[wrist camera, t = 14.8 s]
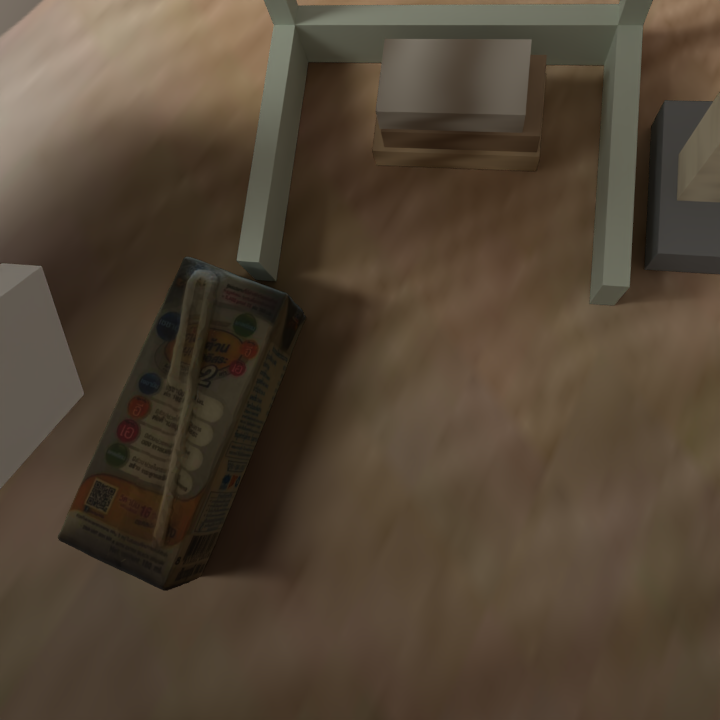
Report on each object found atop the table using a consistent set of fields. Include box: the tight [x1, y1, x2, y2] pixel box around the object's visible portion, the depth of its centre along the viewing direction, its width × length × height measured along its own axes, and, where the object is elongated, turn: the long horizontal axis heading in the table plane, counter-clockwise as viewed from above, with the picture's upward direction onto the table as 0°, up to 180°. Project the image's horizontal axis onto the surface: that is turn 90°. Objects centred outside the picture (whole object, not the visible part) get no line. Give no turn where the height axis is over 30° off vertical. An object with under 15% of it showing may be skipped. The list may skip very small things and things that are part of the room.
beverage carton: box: [58, 257, 306, 590], centre depth 41 cm, size 8×19×7 cm, turn 158°
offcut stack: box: [372, 39, 547, 171], centre depth 43 cm, size 11×6×6 cm, turn 83°
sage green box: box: [237, 0, 653, 305], centre depth 40 cm, size 24×18×10 cm
